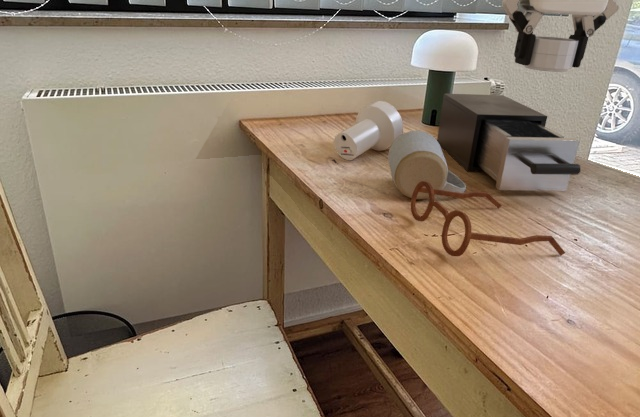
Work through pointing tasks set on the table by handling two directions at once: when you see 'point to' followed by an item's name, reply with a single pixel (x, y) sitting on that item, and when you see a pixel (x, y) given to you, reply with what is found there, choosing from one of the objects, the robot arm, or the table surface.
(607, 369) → the table surface
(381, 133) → the spotlight
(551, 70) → the white rounded cylinder
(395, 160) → the ceramic mug
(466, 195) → the glasses
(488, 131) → the drawer
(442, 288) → the table surface
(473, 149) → the dark brown hollow box
